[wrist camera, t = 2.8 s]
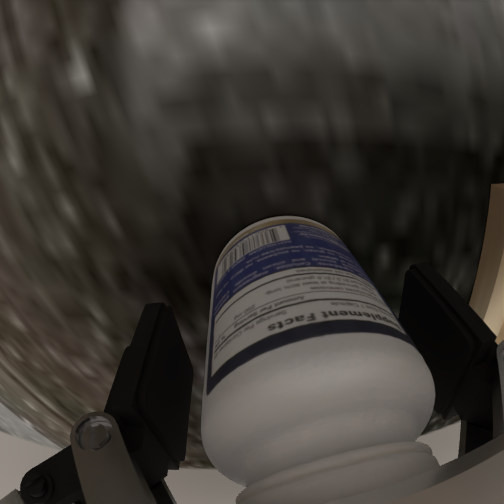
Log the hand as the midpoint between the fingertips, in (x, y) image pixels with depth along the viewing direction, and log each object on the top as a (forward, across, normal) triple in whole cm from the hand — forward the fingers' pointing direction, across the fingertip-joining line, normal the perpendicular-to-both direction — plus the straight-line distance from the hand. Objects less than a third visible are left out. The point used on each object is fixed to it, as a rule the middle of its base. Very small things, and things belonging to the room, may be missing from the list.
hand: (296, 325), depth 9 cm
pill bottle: (+3, 0, 0) cm, 3 cm away
